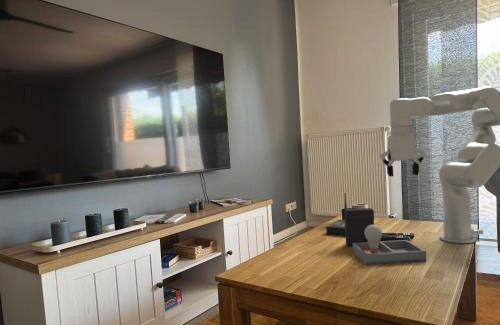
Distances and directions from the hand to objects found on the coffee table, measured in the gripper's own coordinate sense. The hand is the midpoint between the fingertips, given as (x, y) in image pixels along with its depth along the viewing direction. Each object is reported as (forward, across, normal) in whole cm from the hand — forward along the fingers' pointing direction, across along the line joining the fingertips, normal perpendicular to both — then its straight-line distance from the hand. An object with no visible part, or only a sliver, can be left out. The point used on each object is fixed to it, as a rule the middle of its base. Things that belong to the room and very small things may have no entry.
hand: (403, 175), depth 130 cm
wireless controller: (+29, +15, -31) cm, 45 cm away
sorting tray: (+28, +11, +9) cm, 32 cm away
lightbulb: (+28, +16, +9) cm, 33 cm away
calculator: (+28, +16, -6) cm, 33 cm away
